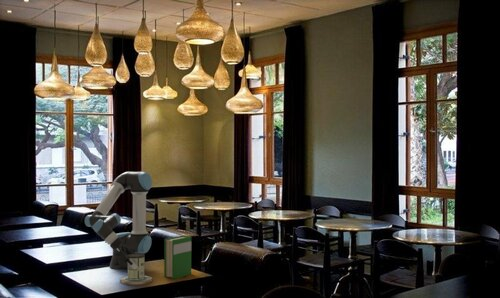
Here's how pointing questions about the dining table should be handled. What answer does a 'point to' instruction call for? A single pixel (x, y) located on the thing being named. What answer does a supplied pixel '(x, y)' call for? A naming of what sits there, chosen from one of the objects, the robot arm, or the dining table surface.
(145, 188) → the robot arm
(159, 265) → the dining table surface
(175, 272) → the hardback book
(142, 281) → the hub plate
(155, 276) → the dining table surface
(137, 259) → the coffee can
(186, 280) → the dining table surface
